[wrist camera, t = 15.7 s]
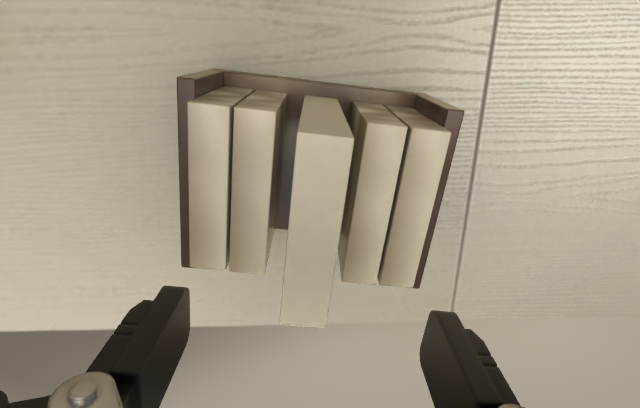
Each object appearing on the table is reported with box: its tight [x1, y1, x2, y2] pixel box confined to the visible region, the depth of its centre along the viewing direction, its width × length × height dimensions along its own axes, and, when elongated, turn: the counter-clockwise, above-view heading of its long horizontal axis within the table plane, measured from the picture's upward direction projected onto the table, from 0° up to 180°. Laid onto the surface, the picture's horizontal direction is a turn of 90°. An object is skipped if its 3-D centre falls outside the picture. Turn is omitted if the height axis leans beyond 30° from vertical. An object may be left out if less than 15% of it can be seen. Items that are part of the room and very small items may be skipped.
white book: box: [279, 95, 354, 329], centre depth 24 cm, size 2×10×13 cm, turn 173°
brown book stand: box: [177, 69, 464, 288], centre depth 26 cm, size 16×12×10 cm
